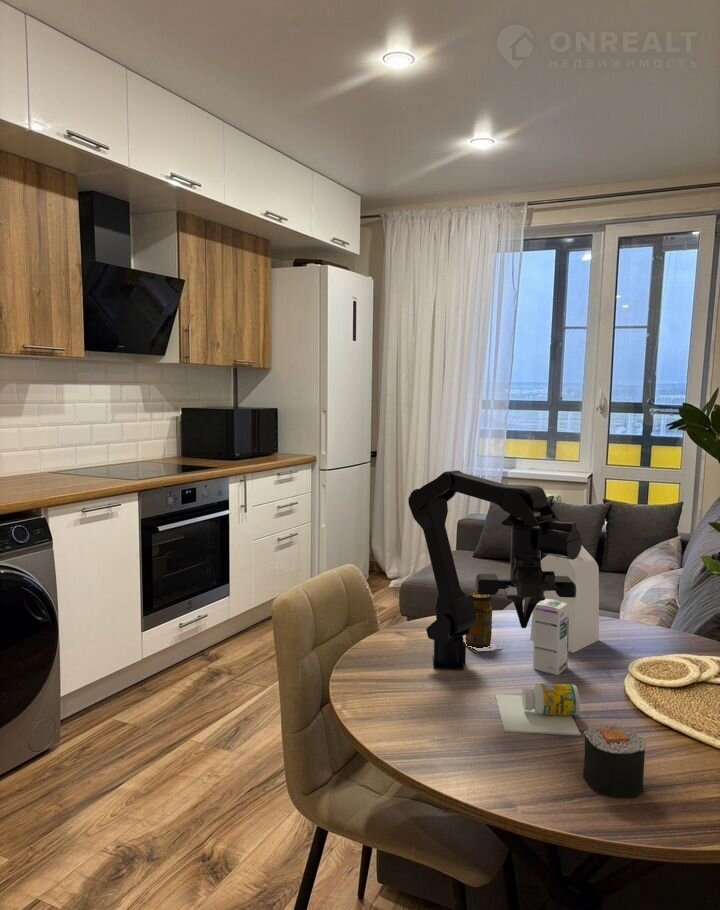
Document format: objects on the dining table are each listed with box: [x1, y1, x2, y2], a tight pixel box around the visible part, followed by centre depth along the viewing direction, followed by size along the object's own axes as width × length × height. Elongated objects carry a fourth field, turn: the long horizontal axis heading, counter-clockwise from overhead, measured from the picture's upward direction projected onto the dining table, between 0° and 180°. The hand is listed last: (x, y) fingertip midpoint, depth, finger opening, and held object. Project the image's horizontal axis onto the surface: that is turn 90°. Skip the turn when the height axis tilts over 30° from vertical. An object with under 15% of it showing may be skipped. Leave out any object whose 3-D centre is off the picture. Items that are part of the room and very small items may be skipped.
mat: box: [494, 694, 581, 736], centre depth 124 cm, size 13×14×1 cm
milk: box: [529, 545, 600, 653], centre depth 161 cm, size 12×12×26 cm
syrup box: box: [532, 599, 569, 676], centre depth 144 cm, size 6×6×14 cm
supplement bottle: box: [521, 683, 581, 716], centre depth 123 cm, size 5×5×10 cm
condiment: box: [463, 591, 498, 653], centre depth 157 cm, size 7×8×12 cm
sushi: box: [582, 724, 647, 799], centre depth 102 cm, size 8×8×8 cm
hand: (523, 627), depth 132 cm, fingers closed
